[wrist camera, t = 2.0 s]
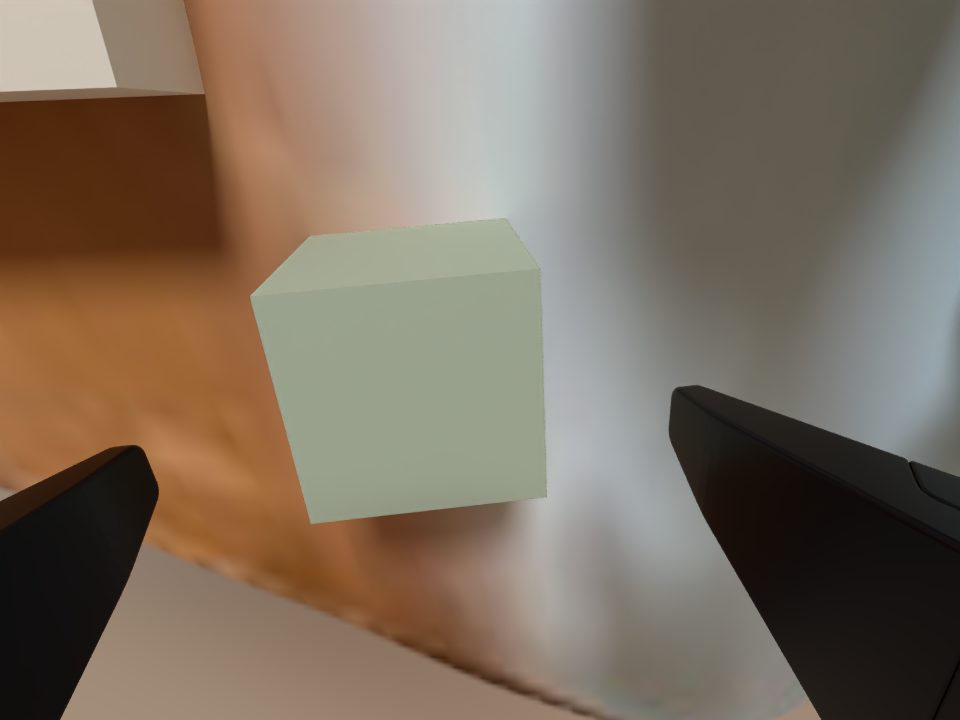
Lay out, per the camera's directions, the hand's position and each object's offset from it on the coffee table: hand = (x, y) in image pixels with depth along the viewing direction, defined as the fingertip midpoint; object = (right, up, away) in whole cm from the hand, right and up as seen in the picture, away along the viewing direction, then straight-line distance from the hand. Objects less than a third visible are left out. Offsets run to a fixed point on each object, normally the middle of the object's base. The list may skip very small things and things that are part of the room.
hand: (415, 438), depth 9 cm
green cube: (-1, +2, +6) cm, 6 cm away
